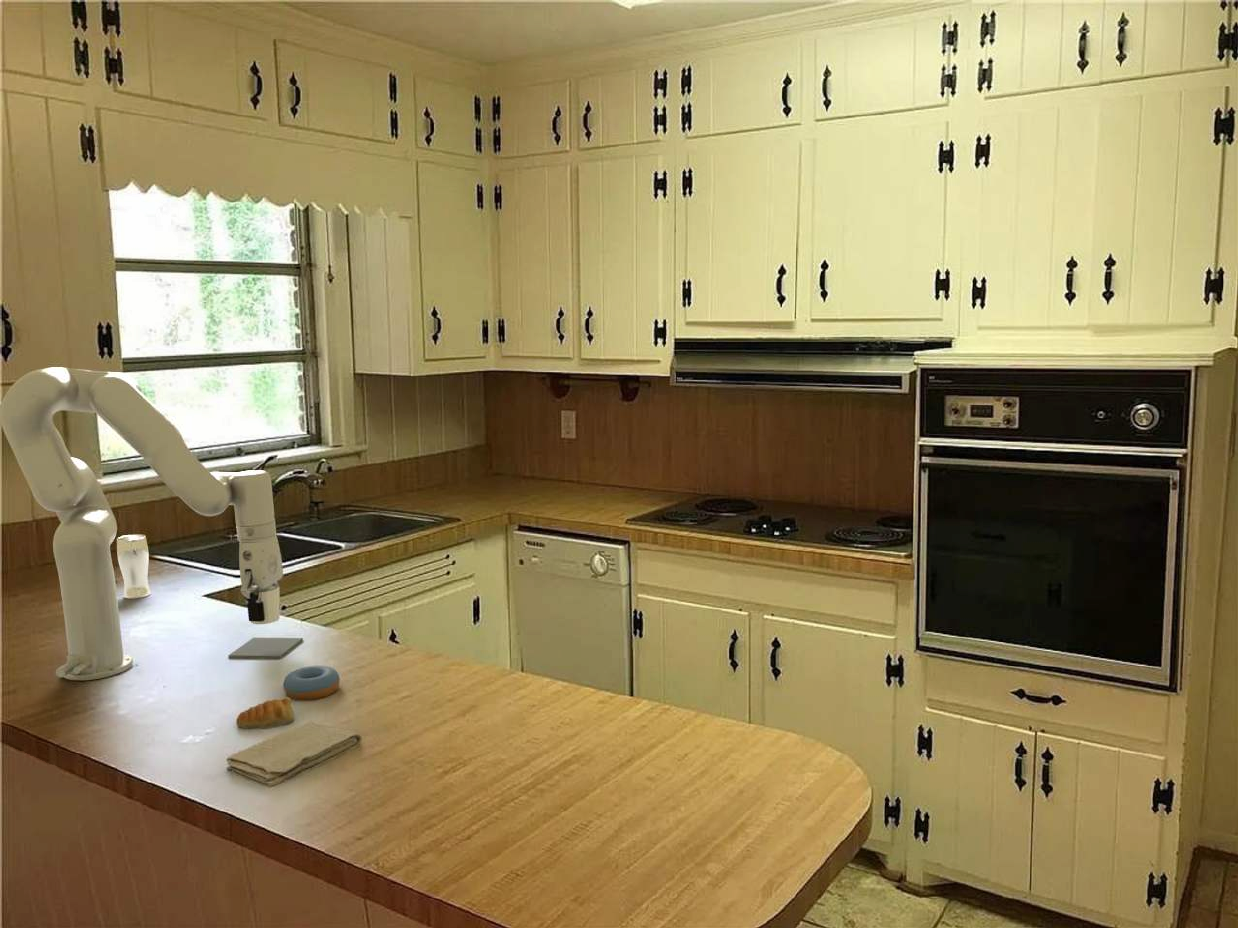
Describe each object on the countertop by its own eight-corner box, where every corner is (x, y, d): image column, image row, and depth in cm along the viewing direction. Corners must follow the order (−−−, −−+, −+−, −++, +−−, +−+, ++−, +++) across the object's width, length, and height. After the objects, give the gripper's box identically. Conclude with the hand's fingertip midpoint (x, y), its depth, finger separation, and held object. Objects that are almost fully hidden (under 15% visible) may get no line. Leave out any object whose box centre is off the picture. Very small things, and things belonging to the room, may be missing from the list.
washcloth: (221, 774, 155) (219, 755, 155) (312, 731, 170) (311, 713, 170) (273, 792, 149) (271, 772, 148) (363, 746, 164) (362, 728, 163)
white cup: (271, 625, 205) (268, 592, 204) (241, 624, 207) (237, 591, 206) (288, 615, 212) (285, 583, 211) (259, 614, 214) (256, 582, 212)
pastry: (238, 735, 168) (236, 713, 168) (235, 721, 174) (233, 700, 174) (296, 724, 172) (295, 703, 172) (291, 711, 178) (290, 690, 178)
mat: (280, 658, 204) (280, 655, 204) (228, 658, 206) (228, 655, 206) (302, 640, 215) (302, 637, 215) (253, 640, 216) (253, 637, 216)
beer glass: (158, 593, 255) (152, 535, 252) (132, 600, 249) (126, 541, 246) (142, 590, 258) (136, 533, 256) (116, 597, 253) (109, 538, 250)
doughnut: (271, 693, 186) (272, 669, 185) (317, 679, 194) (318, 656, 193) (304, 710, 180) (305, 685, 179) (350, 695, 188) (351, 671, 187)
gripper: (254, 541, 198) (263, 629, 200) (292, 521, 215) (299, 603, 217) (218, 541, 198) (227, 629, 201) (258, 522, 215) (266, 603, 218)
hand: (264, 614), depth 209 cm, fingers closed on white cup, 6 cm apart
